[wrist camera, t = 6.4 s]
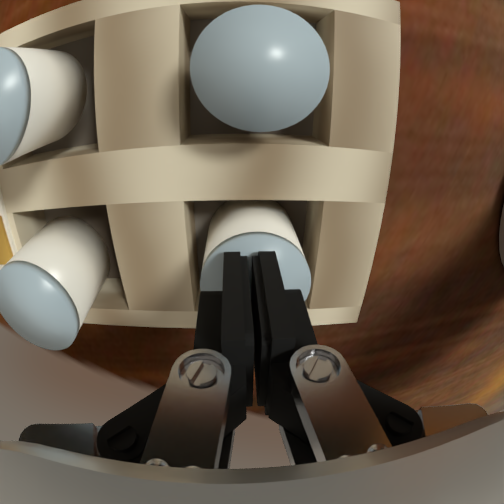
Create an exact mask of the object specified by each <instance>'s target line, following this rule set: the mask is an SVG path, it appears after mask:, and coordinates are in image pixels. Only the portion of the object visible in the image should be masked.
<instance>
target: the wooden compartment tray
mask: <svg viewBox="0 0 504 504" xmlns="http://www.w3.org/2000/svg"><path fill="white" fill-rule="evenodd" d="M248 5H271V6H276V7H280V8H283V9H286V10H288V11H291V12H293V13H295V14H296V15H298V16H300V17H301V18H303V19H304V20H305V21H306V22H308V23H309V24H310V25H311V26H312V27H313V28H314V29H315V31H316V32H317V33H318V34H319V36H320V37H321V39H322V41H323V43H324V45H325V47H326V50H327V53H328V57H329V63H330V75H329V82H328V86H327V89H326V91H325V94H324V96H323V98H322V99H321V101H320V103H319V104H318V105H317V107H316V108H315V109H314V110H313V111H312V112H311V113H310V114H309V115H308V116H307V117H305V118H304V119H303V120H301V121H299V122H298V123H296V124H294V125H292V126H289V127H287V128H284V129H281V130H277V131H270V132H251V131H246V130H241V129H238V128H235V127H232V126H230V125H228V124H226V123H224V122H222V121H221V120H219V119H217V118H216V117H215V116H214V115H212V114H211V113H210V112H209V111H208V110H207V109H206V108H205V107H204V105H203V104H202V103H201V101H200V100H199V98H198V96H197V94H196V93H195V90H194V88H193V85H192V81H191V76H190V59H191V54H192V50H193V48H194V45H195V43H196V41H197V39H198V37H199V35H200V34H201V33H202V31H203V30H204V29H205V28H206V27H207V26H208V25H209V24H210V23H211V22H212V21H213V20H214V19H216V18H217V17H218V16H220V15H222V14H224V13H225V12H227V11H230V10H232V9H235V8H238V7H242V6H248ZM0 47H19V48H35V49H47V50H57V51H63V52H66V53H69V54H71V55H72V56H73V57H75V58H76V59H77V60H78V62H79V63H80V64H81V66H82V68H83V70H84V73H85V77H86V82H87V96H86V102H85V106H84V109H83V112H82V114H81V116H80V119H79V120H78V122H77V124H76V125H75V126H74V128H73V129H72V130H71V131H70V132H69V133H68V134H67V135H65V136H64V137H63V138H61V139H59V140H57V141H55V142H52V143H50V144H47V145H45V146H43V147H40V148H38V149H36V150H33V151H31V152H29V153H27V154H24V155H22V156H20V157H18V158H16V159H14V160H12V161H9V162H7V163H5V164H3V165H1V166H0V270H1V268H2V267H3V266H4V265H5V264H6V263H7V262H8V261H9V260H10V259H11V258H12V257H13V256H14V255H15V254H16V253H17V252H18V251H19V250H20V249H21V248H22V247H23V246H24V245H25V244H26V243H27V242H28V241H29V240H30V239H31V238H32V237H33V236H34V235H35V234H36V233H37V232H39V231H40V230H41V229H42V228H43V227H44V226H45V225H46V224H47V223H48V222H50V221H51V220H53V219H54V218H57V217H62V216H69V217H74V218H77V219H80V220H82V221H84V222H85V223H87V224H88V225H90V226H91V227H92V228H93V229H94V230H96V232H97V233H98V234H99V235H100V236H101V238H102V239H103V241H104V243H105V245H106V247H107V249H108V252H109V256H110V271H109V274H108V277H107V279H106V280H105V282H104V284H103V286H102V288H101V289H100V291H99V293H98V295H97V297H96V299H95V300H94V302H93V304H92V306H91V308H90V310H89V312H88V314H87V316H86V318H85V320H84V322H83V323H90V324H104V325H120V326H139V327H166V328H196V322H197V314H198V306H199V298H200V292H201V290H200V278H201V272H202V266H203V260H204V254H205V248H206V242H207V236H208V230H209V225H210V222H211V219H212V217H213V215H214V214H215V212H216V211H217V210H218V209H219V208H220V207H221V206H222V205H223V204H224V203H226V202H227V201H229V200H274V201H275V202H277V203H278V204H279V205H280V206H282V207H283V209H284V210H285V211H286V212H287V214H288V216H289V218H290V220H291V223H292V225H293V228H294V230H295V233H296V235H297V238H298V240H299V243H300V246H301V248H302V251H303V253H304V256H305V259H306V261H307V264H308V267H309V270H310V274H311V287H310V292H309V294H308V297H307V299H306V300H305V305H306V308H307V311H308V314H309V318H310V321H311V324H312V325H327V324H341V323H354V322H357V319H358V316H359V312H360V309H361V305H362V302H363V298H364V294H365V291H366V287H367V283H368V279H369V275H370V271H371V267H372V263H373V259H374V254H375V250H376V245H377V241H378V236H379V231H380V226H381V221H382V216H383V211H384V206H385V200H386V194H387V188H388V182H389V176H390V169H391V162H392V154H393V147H394V138H395V129H396V119H397V108H398V94H399V77H400V2H398V1H394V0H82V1H79V2H76V3H72V4H69V5H67V6H64V7H61V8H58V9H55V10H53V11H50V12H48V13H45V14H43V15H40V16H38V17H35V18H33V19H31V20H28V21H26V22H24V23H22V24H20V25H17V26H15V27H13V28H11V29H9V30H7V31H5V32H3V33H1V34H0ZM0 314H1V312H0Z"/></svg>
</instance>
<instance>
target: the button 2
mask: <svg viewBox="0 0 504 504" xmlns="http://www.w3.org/2000/svg"><path fill="white" fill-rule="evenodd" d="M109 271H110V256H109V252H108V249H107V247H106V245H105V243H104V241H103V239H102V238H101V236H100V235H99V234H98V233H97V232H96V230H94V229H93V228H92V227H91V226H90V225H88V224H87V223H85V222H84V221H82V220H80V219H77V218H74V217H69V216H62V217H57V218H54V219H53V220H51V221H50V222H48V223H47V224H46V225H45V226H44V227H43V228H42V229H41V230H40V231H39V232H37V233H36V234H35V235H34V236H33V237H32V238H31V239H30V240H29V241H28V242H27V243H26V244H25V245H24V246H23V247H22V248H21V249H20V250H19V251H18V252H17V253H16V254H15V255H14V256H13V257H12V258H11V259H10V260H9V261H8V262H7V263H6V264H5V265H4V266H3V267H2V268H1V270H0V312H1V314H2V316H3V317H4V319H5V320H6V321H7V323H8V324H9V325H10V326H11V327H12V328H13V329H14V330H15V331H16V332H17V333H18V334H19V335H20V336H22V337H23V338H24V339H26V340H27V341H29V342H30V343H32V344H34V345H36V346H39V347H41V348H44V349H49V350H63V349H65V348H68V347H69V346H70V345H71V344H72V343H73V341H74V340H75V338H76V336H77V334H78V331H79V329H80V327H81V325H82V323H83V322H84V320H85V318H86V316H87V314H88V312H89V310H90V308H91V306H92V304H93V302H94V300H95V299H96V297H97V295H98V293H99V291H100V289H101V288H102V286H103V284H104V282H105V280H106V279H107V277H108V274H109Z"/></svg>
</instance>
